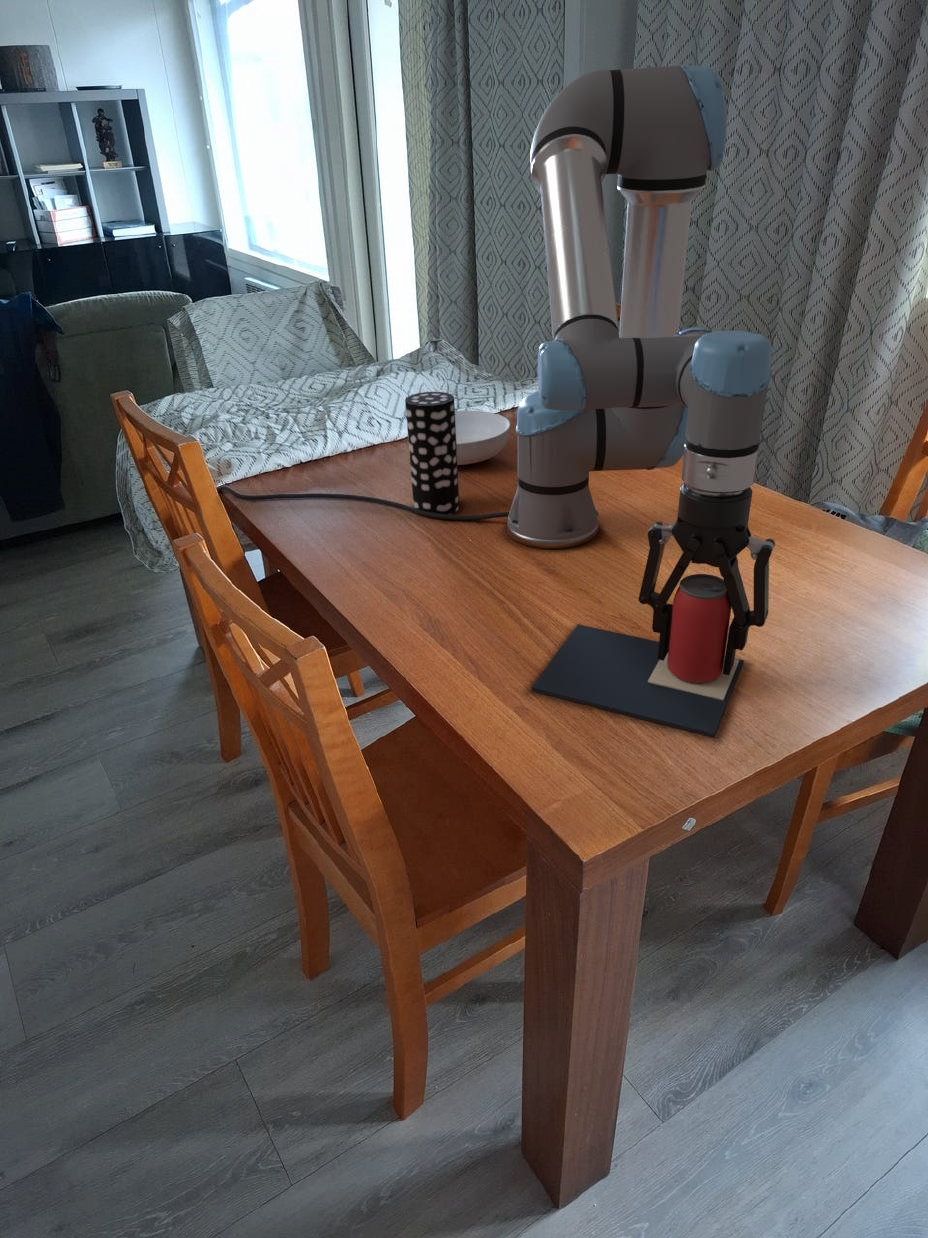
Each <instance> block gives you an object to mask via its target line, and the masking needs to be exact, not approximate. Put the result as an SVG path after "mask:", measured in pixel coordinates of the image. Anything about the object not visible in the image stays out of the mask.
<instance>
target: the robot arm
mask: <svg viewBox="0 0 928 1238" xmlns="http://www.w3.org/2000/svg"><path fill="white" fill-rule="evenodd" d="M726 142H727V105H726V98H725V92H724V88H723V84H722V81H721V79H720V77H719V74H718V73H717V72H716V71H715V70H714V69H713V68H712V67H710V66H706V65H689V64H686V65H683V64H682V63H680V64H678V65H666V66H654V67H653V66H652V67H638V68H637V67H636V68H621V69H610V68H609V69H608V68H607V69H598V70H593V71H590V72H587V73H583V74H582V75H580V76H578V77H577V78H575V79H573V80H571V81H570V82H569V83H568V84H567V85H566V86H565V87H564V88H563V89H561V90H560V91H559V92H558V93H557V94H556V95H555V96H554V98H553V99H552V101H550V103H549V104H548V106H547V107H546V109H545V110H544V112H543V113H542V116H541V118H540V120H539V121H538V124H537V127H536V128H535V130H534V133H533V138H532V142H531V146H530V158H529V159H530V160H529V161H530V176H531V182H532V184H533V187H534V189H535V190H536V191H537V192H538V193H539V194H540V199H541V211H542V213H541V214H542V224H543V235H544V247H545V249H544V250H545V261H546V272H547V273H546V274H547V285H548V295H549V296H548V297H549V309H550V311H549V312H550V323H551V333H552V341H545V342H542V343H541V344H540V345H539V347H538V353H537V384H538V385H537V388H538V389H537V390H536V391H534V392H532V393H530V394H528V395H527V396H525V397H524V398H523V399H522V400H521V401H520V402H519V404H518V407H517V415H516V426H515V433H516V435H517V488H516V490H515V491H516V492H515V494H514V496H513V500H512V503H511V506H510V509H509V511H500V512H499V511H497V512H491V513H484V514H474V515H472V514H471V515H468V514H467V515H466V514H465V515H459V514H450V515H447V514H438V513H432V512H426V511H422V510H419V509H416V508H414V506H410V505H408V504H404V503H401V502H396V501H392V500H389V499H384V498H379V497H373V496H367V495H359V494H349V493H329V492H327V493H325V492H305V493H303V492H302V493H273V494H271V493H270V494H244V493H241V492H238V491H236V490H234V489H232V488H231V487H230V486H228V485H219V486H218V487H217V488H216V489H217V491H218V493H217V494H220V493H221V492H222V491H226V492H227V493H229V494H231V495H232V496H233V497H235V498H237V499H241V500H250V501H253V500H254V501H257V500H258V501H260V500H276V499H278V500H279V499H282V500H283V499H343V500H352V501H353V500H355V501H363V502H370V503H375V504H380V505H385V506H390V507H394V508H397V509H402V510H403V511H404V510H405V511H408V512H410V513H414V514H416V515H418V516H422V517H426V516H427V517H428V518H431V519H439V520H448V521H483V520H489V519H490V520H491V519H495V518H496V519H497V518H507V521H506V522H507V523H506V525H507V529H506V530H507V534H508V536H509V537H511V539H513V540H514V541H516V542H517V543H520V544H522V545H525V546H529V547H533V548H538V549H547V550H548V549H556V550H557V549H566V548H573V547H577V546H581V545H584V544H586V543H588V542H589V541H591V540H593V539H594V538H595V537H596V536H597V534H598V532H599V518H600V515H599V512H598V510H597V509H596V508H597V507H595V503H594V500H593V497H592V493H591V490H590V486H589V485H590V472H606V471H609V472H610V471H637V470H642V471H643V470H646V471H653V470H656V469H665V468H671V467H673V466H675V465H677V464H678V463H679V462H680V461H681V459H682V466H681V467H682V468H681V476H680V477H681V481H682V482H683V483H681V485H680V488H679V495H678V507H677V517H676V520H675V521H674V523H673V524H663V523H662V521H656V522H654V523H653V524H652V526H651V527H650V528H649V530H648V532H647V539H648V545H649V551H648V555H647V558H646V564H645V567H644V572H643V577H642V582H641V586H640V590H639V595H638V601H639V603H640V604H642V605H648V606H650V607H651V608H652V611H653V613H652V626H651V629H652V633H656V634H659V637H658V639H659V640H658V642H659V649H658V660H662V661H664V659H665V657H666V655H667V653H668V650H669V640H670V630H671V619H672V609H673V603H668V601H669V600H670V598H671V597H672V594H673V592H674V591H675V589H676V588H677V586H678V585H679V583H680V581H681V580H682V577H683V576H684V574H685V573H686V570H687V568H688V567H689V565H690V563H691V564H696V565H704V564H706V565H708V566H710V567H713V568H718V570H719V574H720V576H721V577H722V579H723V580H724V582H725V586H726V589H727V593H728V596H729V600H730V603H731V611H732V614H733V618H732V620H731V622H730V623H729V629H728V636H727V643H726V650H725V661H724V668H723V674H725V675H729V674H730V672H731V669H732V667H733V665H734V659H735V658H736V653H737V652H736V651H737V650H738V651H743V650H744V649H745V647H746V645H747V642H748V638H749V630H750V627H752V626H754V627H758V628H761V627H764V626H765V623H766V621H767V618H768V615H769V603H770V602H769V601H770V599H769V597H770V596H769V595H770V558H771V555H772V552H773V551H774V548H775V546H776V541H775V540H774V539H773V538H766V539H765V540H763V539H761V538H758V537H755V536H752V532H751V530H750V528H749V519H750V512H751V505H752V500H753V499H752V498H753V489H752V488H751V487H752V486H753V485H754V483H755V479H756V472H757V471H756V470H757V464H758V458H759V452H760V451H759V450H760V448H759V447H760V442H761V441H760V440H761V434H762V429H763V421H764V414H765V408H766V401H767V395H768V388H769V383H770V381H771V378H772V368H771V365H772V353H773V352H772V351H773V347H772V343H771V341H770V340H769V338H768V337H766V336H765V335H763V334H760V333H754V332H752V331H747V330H717V331H712V330H710V329H707V328H703V327H688V328H685V329H682V330H681V331H680V323H681V311H682V304H683V303H682V302H683V291H684V290H683V289H684V282H685V274H686V273H685V272H686V265H687V264H686V263H687V253H688V245H689V234H690V233H689V232H690V225H691V215H692V206H693V201H694V200H695V198H696V197H697V195H699V194H700V192H702V191H703V190H704V189H705V188H706V185H707V184H706V183H707V175H708V171H709V172H712V171H714V170H716V169H717V168H719V167H720V166H721V164H722V162H723V159H724V152H725V150H726V144H727V143H726ZM606 175H617V184H616V185H617V187H616V188H617V190H618V191H619V192H620V194H621V195H622V196H623V197H624V199H625V200H626V203H627V208H626V225H625V237H624V238H625V240H624V256H623V268H622V269H623V272H622V286H621V287H622V288H621V301H620V302H621V303H620V318H619V320H618V313H617V310H618V309H617V302H616V295H615V294H616V293H615V286H614V278H613V269H612V261H611V252H610V245H609V244H610V243H609V234H608V227H607V226H608V225H607V217H606V209H605V202H604V201H605V199H604V191H603V184H602V183H603V181H604V179H605V177H606ZM672 536H673V538H674V540H675V542H676V543H677V545H678V547H679V548H680V550H681V551H682V554H681V556H680V557H679V559H678V561H677V562H676V564H675V566H674V568H673V569H672V572H671V573H670V574H669V577H668V579H667V580H666V581H665V584H664V585H663V587H662V589H661V591H660V592H659V593H658V592H657V591H655V590H656V585H657V581H658V577H659V574H660V568H661V565H662V560H663V555H664V551H665V547H666V545H667V544H668V542H669V541H670V539H671V537H672ZM746 548H747V549H749V551H750V554H749V555H750V558H751V559H752V560H754V561H755V562H754V565H753V610H751V607H750V604H749V599H748V596H747V593H746V590H745V586H744V583H743V579H742V576H741V571H740V567H739V559H738V555H739V554H740V553H741V552H742V551H744V549H746Z"/></svg>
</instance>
